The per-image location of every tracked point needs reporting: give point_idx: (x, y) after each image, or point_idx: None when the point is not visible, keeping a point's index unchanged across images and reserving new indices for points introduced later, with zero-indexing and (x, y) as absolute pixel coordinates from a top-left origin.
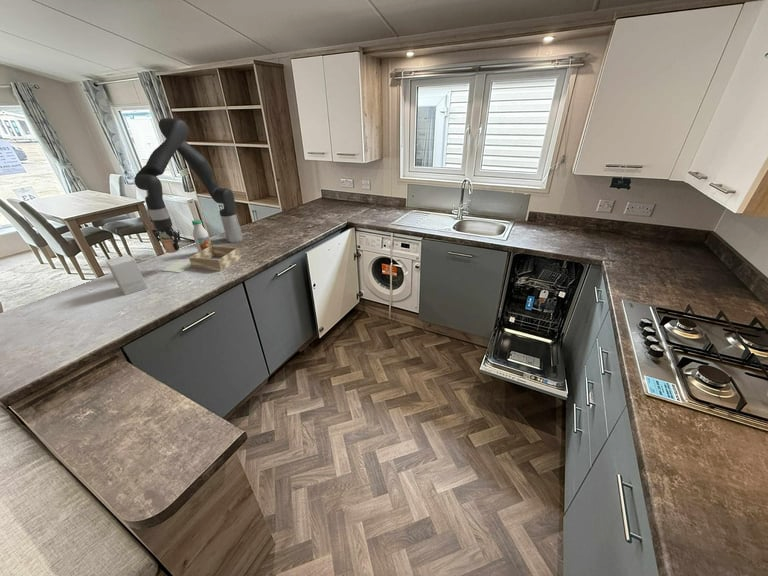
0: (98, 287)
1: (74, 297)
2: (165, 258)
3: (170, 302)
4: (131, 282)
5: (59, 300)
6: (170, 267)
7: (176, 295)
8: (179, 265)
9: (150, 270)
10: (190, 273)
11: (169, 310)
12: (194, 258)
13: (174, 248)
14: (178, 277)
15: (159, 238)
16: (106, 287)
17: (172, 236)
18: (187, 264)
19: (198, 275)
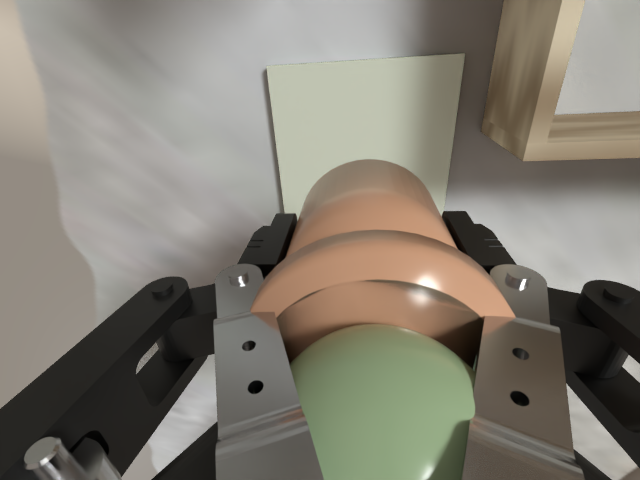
0: (179, 397)
1: (190, 444)
2: (75, 17)
3: (588, 442)
4: None
5: (170, 457)
6: (312, 185)
7: (585, 408)
8: (351, 136)
9: (211, 238)
10: (526, 218)
11: (616, 473)
12: (599, 156)
13: None
14: None
15: (174, 350)
16: (209, 394)
17: (415, 298)
18: (406, 98)
19: (609, 232)
